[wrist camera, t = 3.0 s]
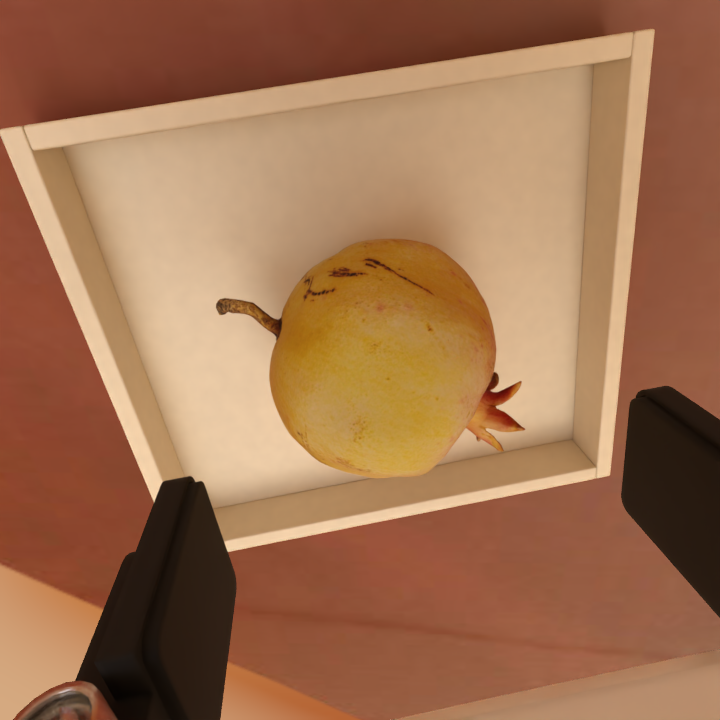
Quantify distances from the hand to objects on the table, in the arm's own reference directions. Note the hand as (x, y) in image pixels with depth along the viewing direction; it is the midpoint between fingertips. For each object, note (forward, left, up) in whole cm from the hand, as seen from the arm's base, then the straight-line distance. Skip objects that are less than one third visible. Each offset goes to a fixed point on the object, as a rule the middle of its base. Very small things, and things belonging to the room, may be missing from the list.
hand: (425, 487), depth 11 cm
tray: (0, +1, -9) cm, 9 cm away
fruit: (0, +1, -9) cm, 9 cm away
